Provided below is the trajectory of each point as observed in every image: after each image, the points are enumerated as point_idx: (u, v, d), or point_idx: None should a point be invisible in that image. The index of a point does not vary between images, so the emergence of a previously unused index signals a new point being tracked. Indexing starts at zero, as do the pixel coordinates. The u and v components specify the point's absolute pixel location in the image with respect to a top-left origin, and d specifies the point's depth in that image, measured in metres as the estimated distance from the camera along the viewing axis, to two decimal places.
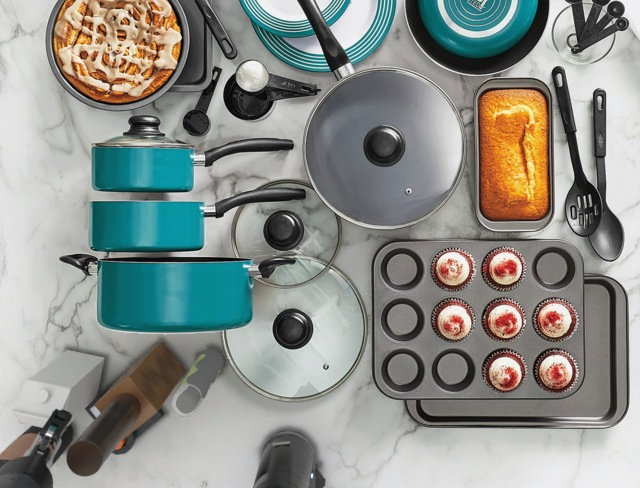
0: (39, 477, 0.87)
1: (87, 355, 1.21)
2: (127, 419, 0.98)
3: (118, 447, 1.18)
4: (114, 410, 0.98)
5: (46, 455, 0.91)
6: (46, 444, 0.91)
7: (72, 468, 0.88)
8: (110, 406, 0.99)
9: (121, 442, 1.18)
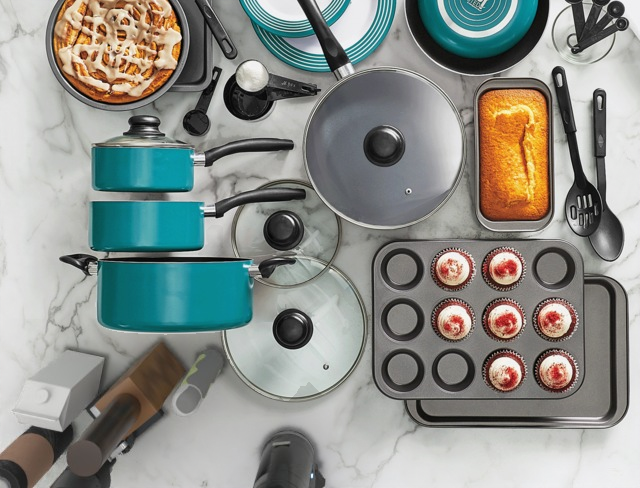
0: (104, 483, 1.03)
1: (87, 355, 1.21)
2: (127, 419, 0.98)
3: None
4: (114, 410, 0.98)
5: (112, 464, 1.07)
6: (119, 451, 1.09)
7: (72, 468, 0.88)
8: (110, 406, 0.99)
9: None
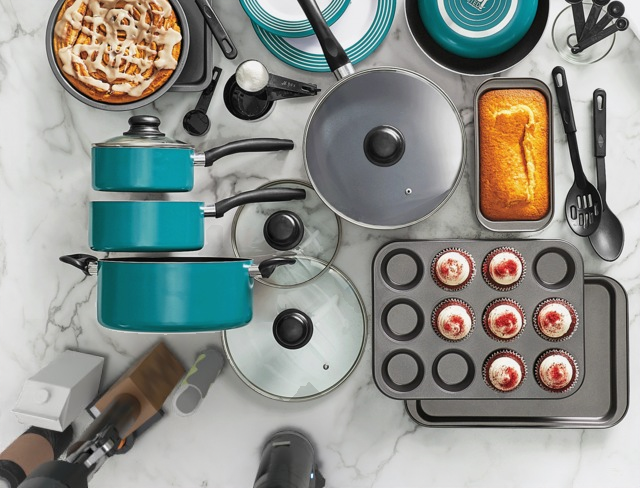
0: None
1: (87, 355, 1.21)
2: (127, 420, 0.98)
3: (118, 447, 1.18)
4: (114, 410, 0.98)
5: (91, 470, 0.82)
6: (98, 456, 0.82)
7: None
8: (110, 406, 0.99)
9: (121, 442, 1.18)
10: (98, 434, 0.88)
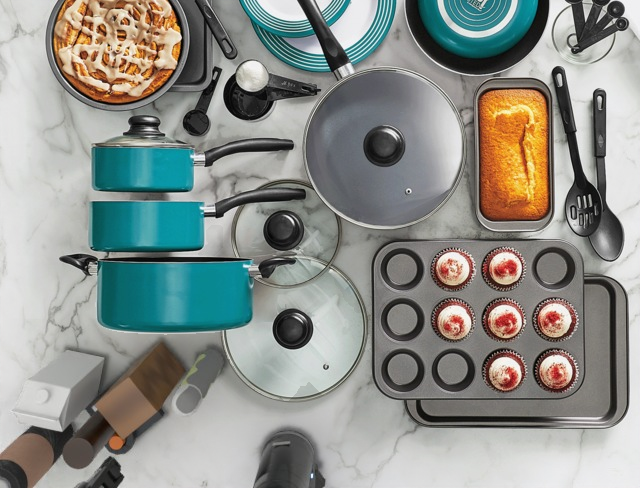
0: None
1: (87, 355, 1.21)
2: None
3: (118, 447, 1.18)
4: None
5: None
6: None
7: (68, 462, 1.03)
8: None
9: (121, 442, 1.18)
10: (97, 470, 0.77)
